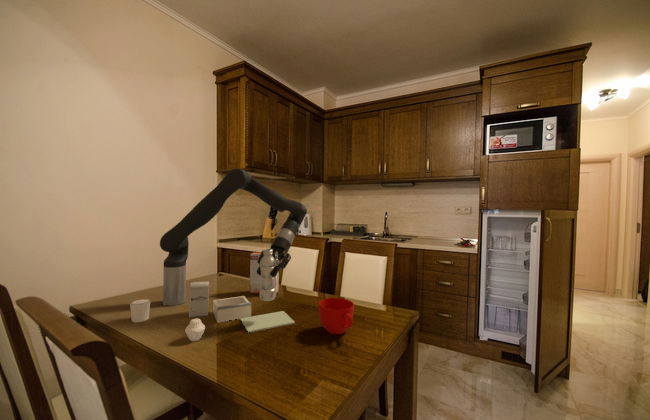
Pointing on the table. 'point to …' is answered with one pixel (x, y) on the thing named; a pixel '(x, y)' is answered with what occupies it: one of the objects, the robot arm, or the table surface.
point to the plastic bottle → (267, 276)
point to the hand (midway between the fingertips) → (265, 275)
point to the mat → (266, 321)
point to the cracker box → (254, 277)
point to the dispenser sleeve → (231, 308)
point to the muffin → (195, 329)
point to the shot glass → (140, 310)
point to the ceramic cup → (336, 314)
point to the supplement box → (198, 299)
